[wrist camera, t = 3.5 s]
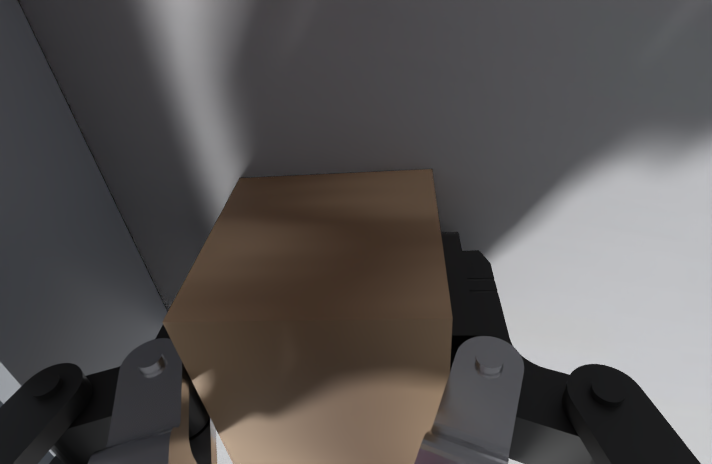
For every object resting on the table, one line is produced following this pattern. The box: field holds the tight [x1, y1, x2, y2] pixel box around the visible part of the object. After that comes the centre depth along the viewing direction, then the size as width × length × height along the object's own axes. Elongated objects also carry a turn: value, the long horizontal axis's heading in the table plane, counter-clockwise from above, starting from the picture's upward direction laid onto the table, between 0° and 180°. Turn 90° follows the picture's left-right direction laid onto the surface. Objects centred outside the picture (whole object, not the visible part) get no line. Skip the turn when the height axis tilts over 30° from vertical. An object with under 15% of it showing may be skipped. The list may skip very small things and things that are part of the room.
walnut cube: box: [162, 169, 453, 464], centre depth 11 cm, size 5×5×5 cm
